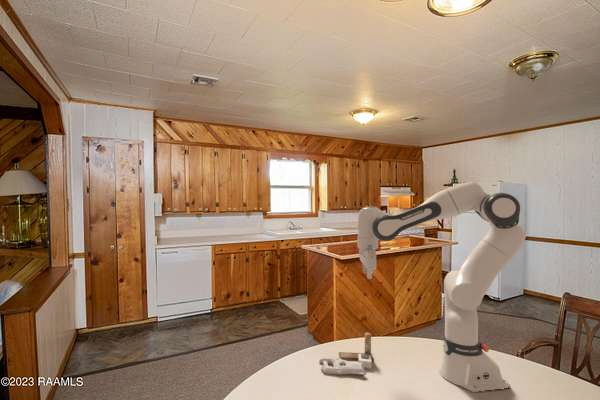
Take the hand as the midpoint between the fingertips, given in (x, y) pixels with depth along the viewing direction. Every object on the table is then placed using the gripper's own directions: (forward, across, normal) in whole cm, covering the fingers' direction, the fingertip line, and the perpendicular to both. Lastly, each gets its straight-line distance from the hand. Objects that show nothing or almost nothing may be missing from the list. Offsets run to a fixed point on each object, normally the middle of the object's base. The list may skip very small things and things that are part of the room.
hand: (367, 275), depth 126 cm
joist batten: (+34, -3, +5) cm, 34 cm away
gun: (+34, -12, +12) cm, 38 cm away
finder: (+34, -8, +2) cm, 35 cm away
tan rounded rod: (+33, -3, 0) cm, 33 cm away
